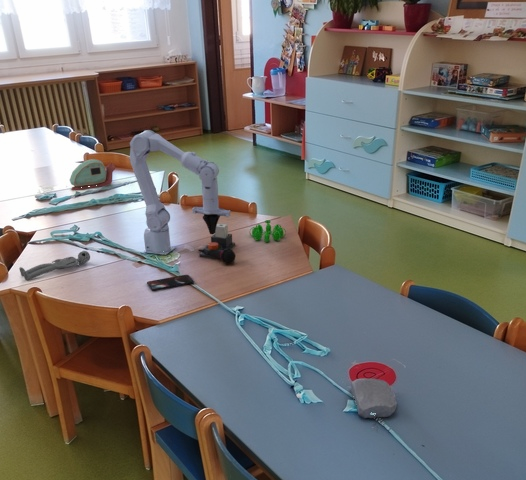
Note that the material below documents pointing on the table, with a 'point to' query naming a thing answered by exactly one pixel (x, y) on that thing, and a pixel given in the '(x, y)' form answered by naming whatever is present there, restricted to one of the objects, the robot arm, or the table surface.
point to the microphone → (222, 255)
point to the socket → (222, 240)
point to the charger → (221, 231)
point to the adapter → (205, 255)
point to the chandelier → (267, 232)
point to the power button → (213, 245)
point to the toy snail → (91, 175)
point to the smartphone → (170, 282)
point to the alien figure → (55, 265)
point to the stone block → (373, 397)
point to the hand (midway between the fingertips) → (212, 233)
